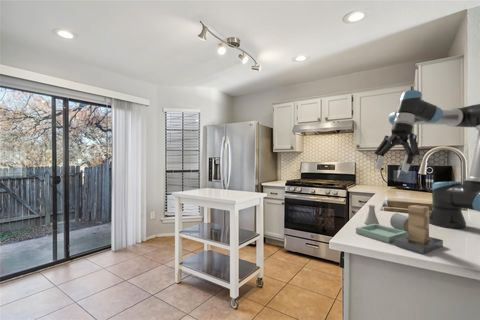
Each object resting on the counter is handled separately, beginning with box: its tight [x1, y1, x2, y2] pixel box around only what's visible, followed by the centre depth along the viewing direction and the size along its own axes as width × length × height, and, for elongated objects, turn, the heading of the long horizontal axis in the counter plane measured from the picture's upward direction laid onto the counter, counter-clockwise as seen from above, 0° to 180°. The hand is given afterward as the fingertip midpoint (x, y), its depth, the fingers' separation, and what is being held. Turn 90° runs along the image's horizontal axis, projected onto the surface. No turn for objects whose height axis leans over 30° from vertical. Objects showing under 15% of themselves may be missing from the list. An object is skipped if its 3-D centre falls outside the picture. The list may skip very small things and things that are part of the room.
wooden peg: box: [407, 204, 430, 243], centre depth 94 cm, size 5×5×16 cm
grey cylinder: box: [389, 212, 408, 232], centre depth 115 cm, size 11×8×8 cm
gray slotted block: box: [393, 235, 444, 255], centre depth 94 cm, size 16×10×3 cm, turn 119°
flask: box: [364, 204, 380, 225], centre depth 125 cm, size 7×7×10 cm
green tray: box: [355, 223, 408, 244], centre depth 107 cm, size 15×15×2 cm
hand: (390, 170), depth 102 cm, fingers open, 13 cm apart
